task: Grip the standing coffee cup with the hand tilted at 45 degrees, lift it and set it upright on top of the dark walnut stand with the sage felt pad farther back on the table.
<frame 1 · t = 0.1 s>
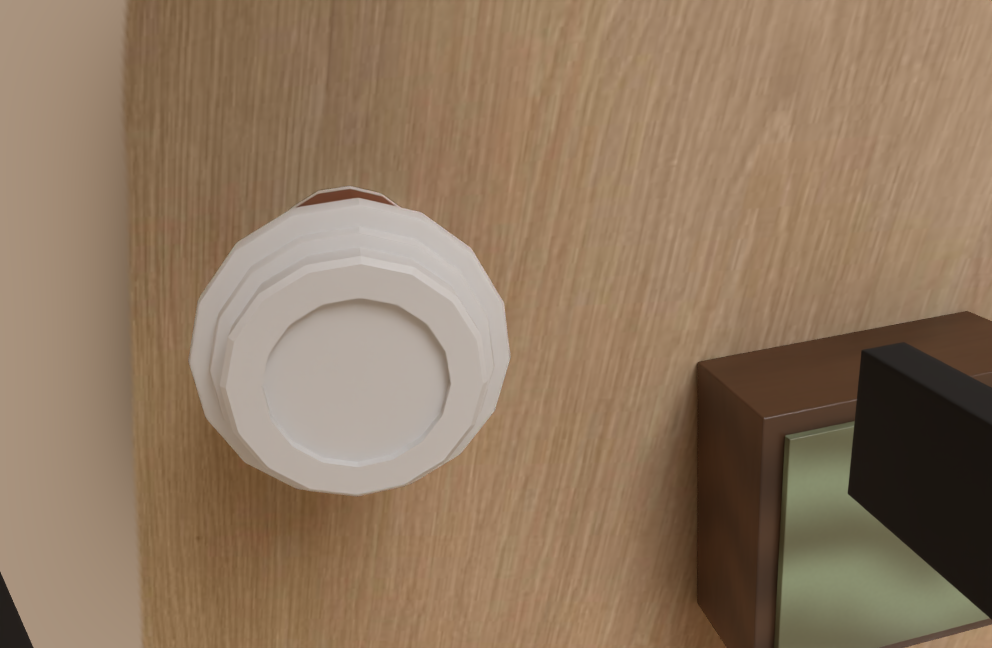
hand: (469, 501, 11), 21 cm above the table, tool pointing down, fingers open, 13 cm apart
coffee cup: (349, 262, 31), on the table
stand: (826, 462, 40), on the table
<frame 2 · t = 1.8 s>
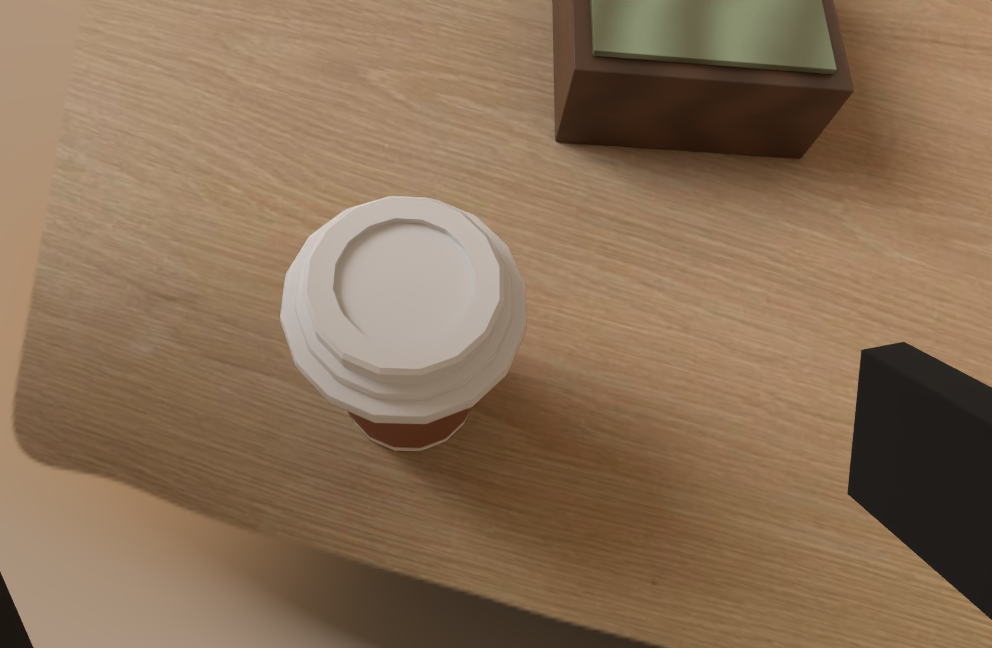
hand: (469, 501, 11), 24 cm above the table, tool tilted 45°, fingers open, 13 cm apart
coffee cup: (410, 389, 37), on the table
stand: (669, 53, 47), on the table
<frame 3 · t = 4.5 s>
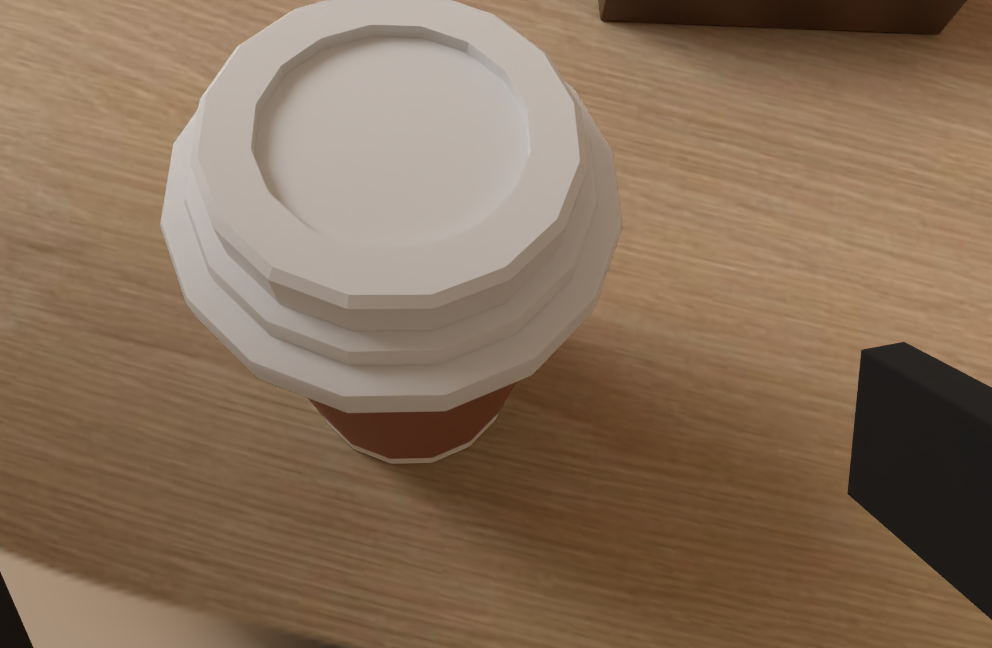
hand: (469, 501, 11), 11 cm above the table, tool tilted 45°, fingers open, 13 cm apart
coffee cup: (412, 369, 24), on the table
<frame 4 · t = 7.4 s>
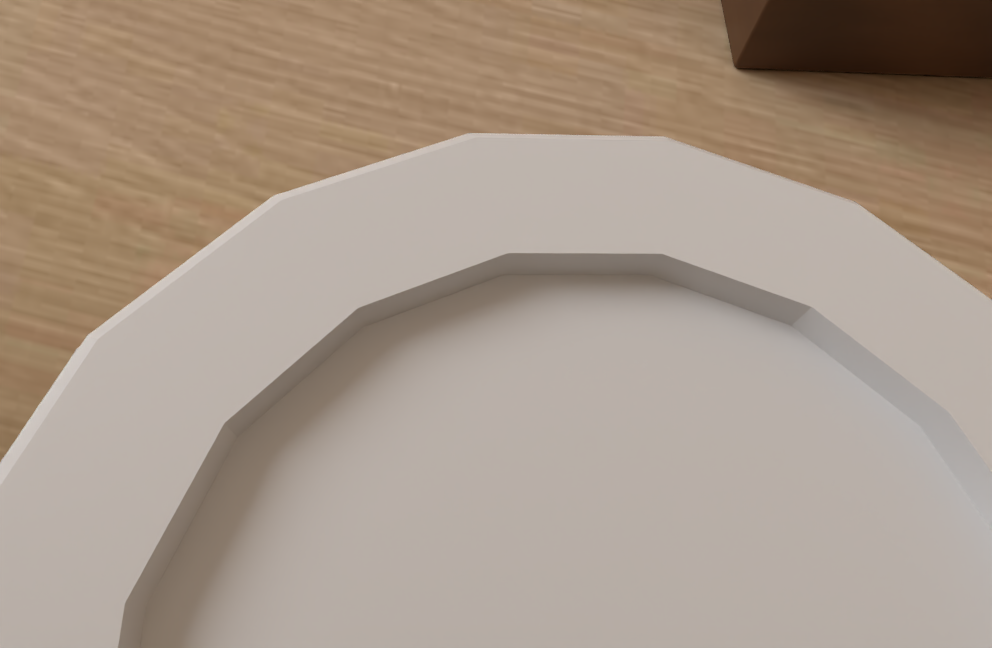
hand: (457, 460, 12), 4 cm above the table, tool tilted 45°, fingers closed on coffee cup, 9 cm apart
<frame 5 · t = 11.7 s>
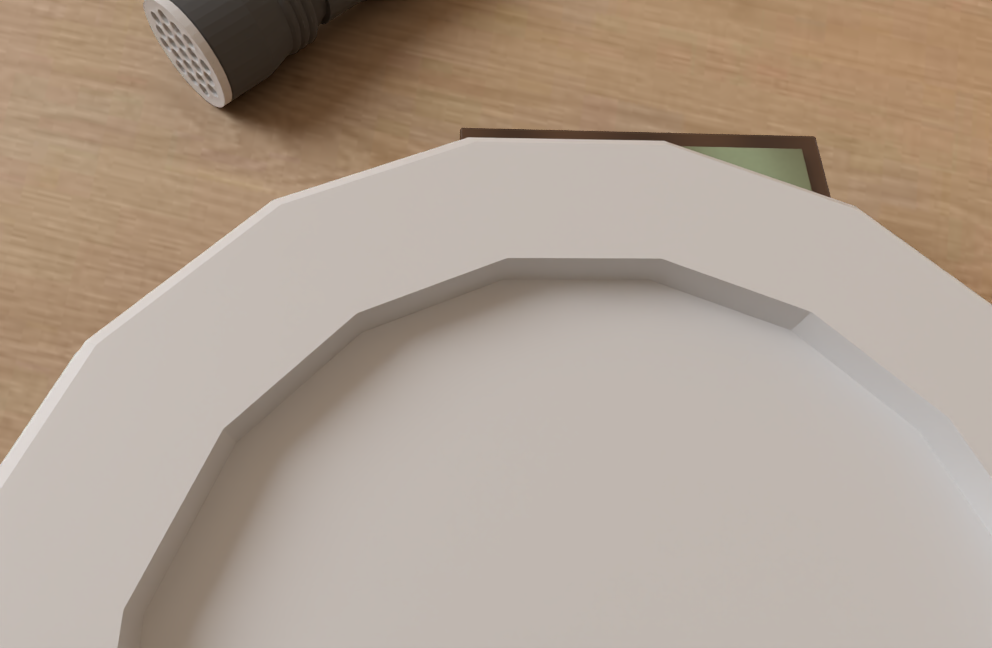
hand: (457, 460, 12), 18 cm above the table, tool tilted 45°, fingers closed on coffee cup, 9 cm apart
stand: (625, 353, 33), on the table
flashlight: (315, 26, 39), on the table
when the fingers open (10 cm above the table, at t = 16.4 s): coffee cup stays where it is, resting on stand.
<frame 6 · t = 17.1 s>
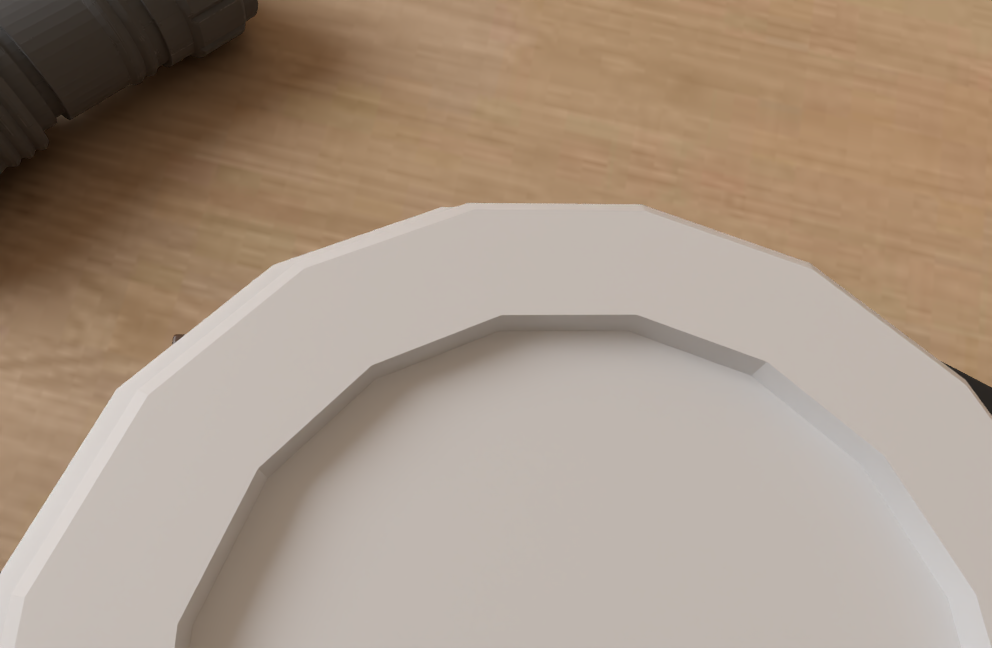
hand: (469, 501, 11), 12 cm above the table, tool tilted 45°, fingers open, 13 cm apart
flashlight: (71, 117, 28), on the table
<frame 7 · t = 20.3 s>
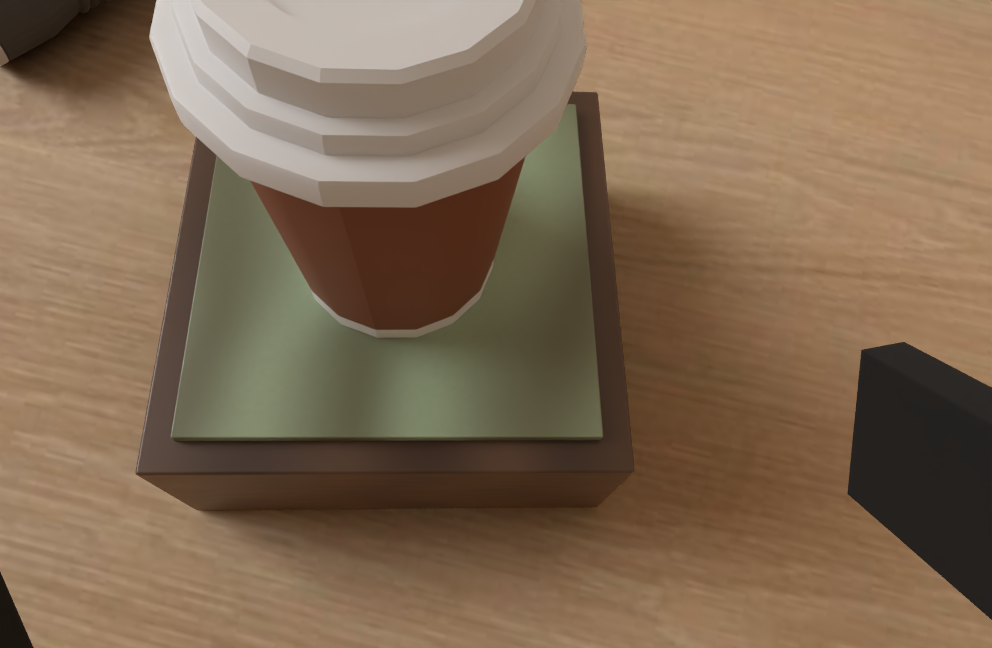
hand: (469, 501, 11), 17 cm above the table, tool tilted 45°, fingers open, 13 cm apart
coffee cup: (399, 254, 25), point 6 cm above the table, touching stand
stand: (406, 326, 31), on the table
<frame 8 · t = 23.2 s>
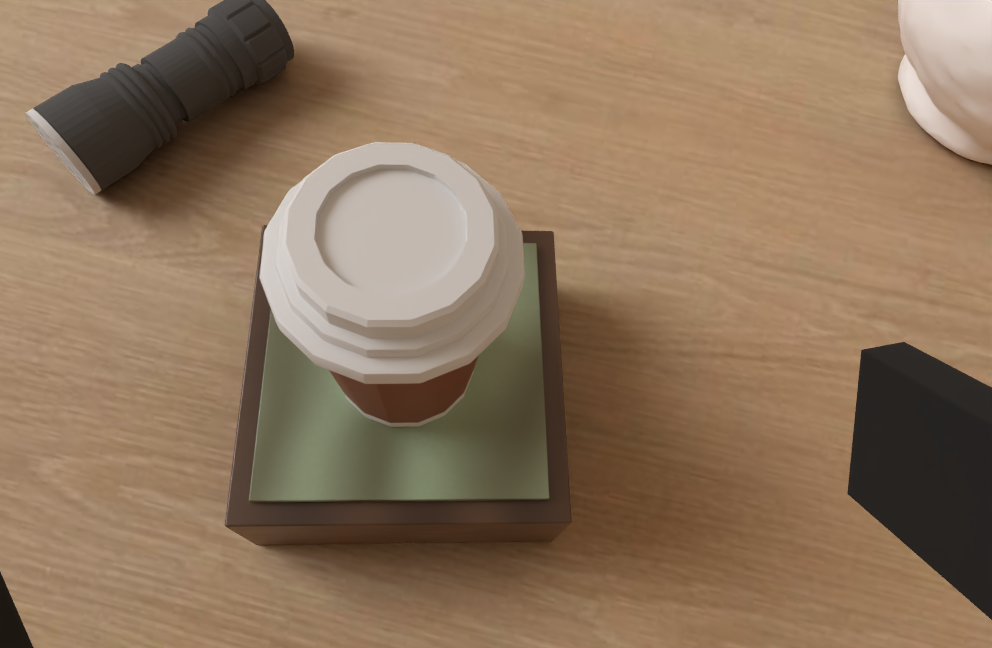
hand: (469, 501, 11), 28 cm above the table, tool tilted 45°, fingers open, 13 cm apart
coffee cup: (406, 363, 35), point 6 cm above the table, touching stand
stand: (410, 402, 40), on the table
flashlight: (184, 120, 47), on the table
vase: (966, 110, 53), on the table
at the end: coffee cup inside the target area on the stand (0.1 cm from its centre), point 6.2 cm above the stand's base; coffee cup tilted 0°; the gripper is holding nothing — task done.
